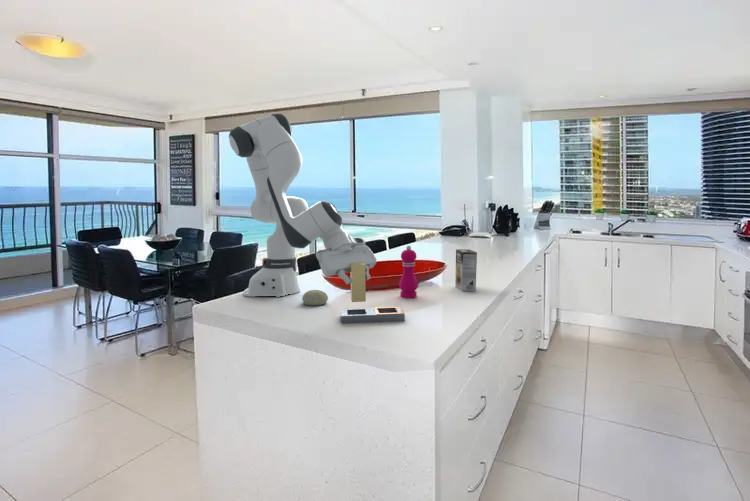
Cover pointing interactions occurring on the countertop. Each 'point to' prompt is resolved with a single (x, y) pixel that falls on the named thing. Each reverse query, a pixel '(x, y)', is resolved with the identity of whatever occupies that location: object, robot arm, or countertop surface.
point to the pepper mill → (408, 274)
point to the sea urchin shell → (315, 297)
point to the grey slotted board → (372, 315)
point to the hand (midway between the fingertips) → (359, 280)
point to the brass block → (358, 282)
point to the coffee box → (466, 269)
